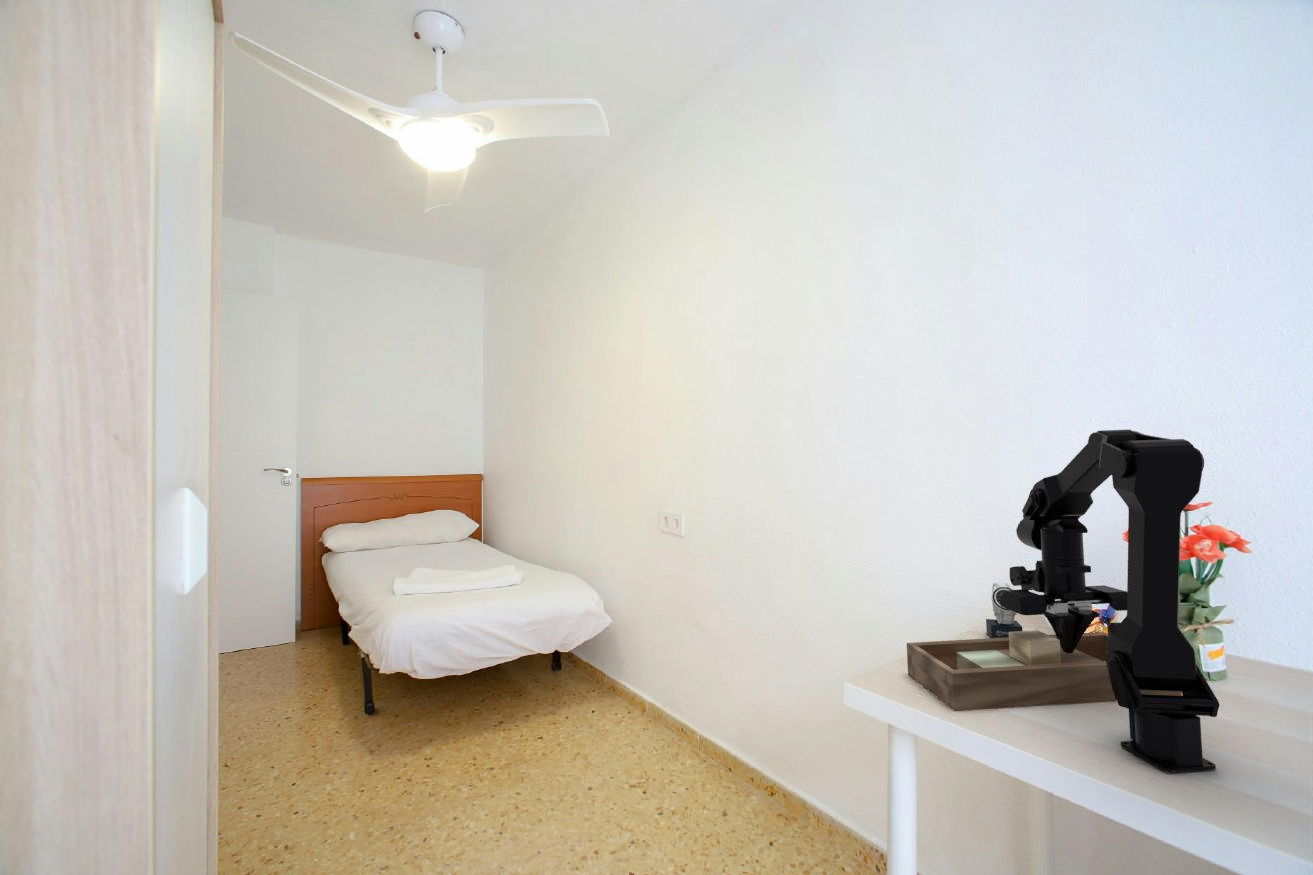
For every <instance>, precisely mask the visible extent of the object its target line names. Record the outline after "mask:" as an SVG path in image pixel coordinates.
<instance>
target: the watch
mask: <svg viewBox="0 0 1313 875" xmlns="http://www.w3.org/2000/svg"><path fill="white" fill-rule="evenodd" d="M1004 590H1014V588H1013V587H1012V585H1010V584H1009V583H1007V582H1006V583H1003V582H993V584H992V593H991V602H992V612H993V615H994V617H995V619H991V618H986V619H985V624H986V625H985V627H986V635H987V636H988V638H1005V637H1009V632H1015V631H1024V630H1023V626H1022V625H1021V624H1020V623H1019V622H1018V620H1015V618H1016V617H1015V616H1017V614H1018V613H1016V612H1014V611H1011V610H1009V609H1006V608H1004V607H1001V603H1000V596H1001V594H1002V593H1003V591H1004Z"/></svg>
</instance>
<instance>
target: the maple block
mask: <svg viewBox="0 0 1313 875" xmlns="http://www.w3.org/2000/svg"><path fill="white" fill-rule="evenodd" d="M1049 635H1050V634H1047V633H1044V632H1042V631H1040V630H1038V629H1037V630H1035V629H1034V630H1023V631H1015V632H1009V649H1010V656H1011V657H1013V658H1015V659H1017V660H1019V661H1021V662H1023V663H1025V664H1026V665H1041V664H1058V663H1061V655H1060V640H1059V639H1056V638H1054V637H1052V636H1049Z"/></svg>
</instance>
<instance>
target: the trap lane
mask: <svg viewBox="0 0 1313 875" xmlns="http://www.w3.org/2000/svg"><path fill="white" fill-rule="evenodd" d="M1048 635H1049V636H1052V637H1054V638H1056V639H1057V636H1056V634H1048ZM1107 646H1108V632H1104V631H1102V632H1101V631H1098V632H1095V633H1084V634H1083V635H1082V637H1081V639H1080V641H1079V643H1078V644H1077V646H1076V648H1075V650H1074V651H1073V653H1065V652H1064V651H1063V650H1062V647H1061V645H1060V655H1061V663H1058V664H1041V665H1026V664H1025V663H1023V662H1021V661H1019V660H1017V659H1015V658H1013V657H1011V656H1010V649H1009V637H1005V638H989V637H988V638H974V639H972V638H971V639H956V640H955V639H953V640H939V641H938V640H935V641H934V640H933V641H918V642H906V660H907V662H906V663H907V676H909V677H911V679H913V680H914V679H915V680H916V681H915V680H914V681H915V682H917V683H918V684H919V685H920V686H922V687H923V686H924V687H925V688H924V687H923V688H924V689H926V690H927V689H928V690H929V691H928V690H927V691H928V692H930V693H931V694H932V693H933V694H934V695H933V694H932V695H933V696H935V697H936V696H937V697H938V698H937V697H936V698H937V699H938V700H940V701H941V700H942V701H943V702H942V701H941V702H942V703H944V704H945V705H946V706H948V707H949V708H950V709H951V710H952V711H954V712H957V711H958V712H959V711H975V710H989V709H991V710H992V709H1005V708H1006V709H1007V708H1021V707H1037V706H1052V705H1056V706H1057V705H1068V704H1085V703H1101V702H1114V701H1115V702H1116V701H1117V702H1118V700H1117V699H1116V698H1115V696H1114V693H1113V690H1112V685H1111V681H1110V677H1109V673H1108V668H1107V664H1106V658H1107V653H1108V652H1107ZM1140 692H1141V694H1153V695H1178V696H1183V695H1182V691H1160V690H1140Z"/></svg>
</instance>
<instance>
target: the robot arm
mask: <svg viewBox="0 0 1313 875" xmlns="http://www.w3.org/2000/svg"><path fill="white" fill-rule="evenodd" d="M1204 468H1205V458H1204V456H1203V453H1202V452H1201V451H1200V449H1198V448H1196V447H1195V446H1194V444H1192V443H1191V441H1189V440H1186V439H1184V438H1178V439H1177V438H1174V439H1173V438H1171V439H1170V438H1167V437H1160V436H1155V435H1148V434H1144V433H1141V432H1139V431H1135V430H1132V429H1110V430H1109V429H1108V430H1107V429H1106V430H1104V429H1103V430H1097V431H1095V432H1092V433H1090V435H1089V437H1088V439H1087V444H1086V445H1085V446H1084V447H1082V449H1081V450H1080V451H1079V452H1078V453H1077V454H1076V455H1075V456H1074V457H1073V459H1072V460H1070V461H1069V463H1067V465H1066V466H1065V467H1064V468H1063V469H1062V470H1061V471H1060V472H1058V473H1057V474H1053V475H1050V476H1047V477H1043V478H1042V479H1040V480H1038V481H1037V482H1036V483H1035V484H1034V485H1033V487H1032V489H1031V490H1030V492H1029V494H1028V497H1027V500H1026V502H1025V504H1024V505H1023V508H1022V510H1021V511H1022V513H1023V514H1022V519H1021V520H1020V521H1019V523H1018V525H1017V526H1016V528H1015V532H1016V536H1017V539H1018V540H1019V541H1020V542H1021V543H1023V544H1024V545H1025V546H1027V547H1030V548H1034V549H1035V550H1039V551H1040V552H1041V560H1036V563H1035V569H1032V570H1031V569H1030V570H1027V569H1026V567H1025V566H1024V565H1020V566H1019V565H1017V566H1012V567H1011V566H1010V567H1009V581H1010V584H1011V586H1013V587H1016V586H1018V587H1019V586H1020V587H1021V589H1013V590H1004V591H1003V593H1002V594H1001V596H1000V603H1001V607H1004V608H1006V609H1009V610H1011V611H1014V612H1016V613H1017V614H1019V615H1021V616H1039V615H1040V616H1042V615H1043V616H1044V617H1045V618H1046V619H1047V621H1048V623H1049V624H1050V626H1051V627H1052V630H1053V632H1054V635H1056V636H1057V639H1059V640H1060V645H1061V647H1062V650H1063V651H1064V652H1065V653H1073V651H1074V650H1075V648H1076V646H1077V644H1078V643H1079V641H1080V639H1081V637H1082V635H1083V634H1084V632H1085V631H1086V629H1087V628H1088V627H1089V625H1090V624H1091V622H1092V621H1093V620H1094V618H1095V617H1098V618H1099V617H1100V615H1101V614H1100V612H1098V611H1097V612H1094V611H1093V610H1092V604H1096V605H1102V604H1103V605H1105V604H1107V605H1108V606H1110V608H1112V609H1113V610H1114V611H1117V612H1120V611H1123V612H1124V611H1126V616H1125V617H1124V618H1123V619H1122V621H1121V622H1110V623H1109V624H1108V627H1107V634H1108V646H1107V652H1108V653H1107V658H1106V664H1107V668H1108V673H1109V677H1110V681H1111V685H1112V690H1113V693H1114V696H1115V698H1116V699H1117V700H1118V701H1117V705H1118V706H1119V707H1122V708H1124V709H1128V721H1129V722H1128V723H1129V737H1130V739H1131V740H1126V741H1125V740H1124V741H1120V746H1121V747H1122V748H1124V749H1125V750H1127V751H1128V752H1130V753H1131V754H1134V755H1135V756H1137V757H1139V758H1141V759H1142V760H1144V761H1146V762H1147V763H1149V764H1151V765H1153V766H1155V767H1156V768H1157V769H1159V770H1161V771H1162V772H1165V773H1180V772H1181V773H1182V772H1183V773H1184V772H1196V771H1210V770H1211V771H1212V770H1217V769H1216V767H1217V766H1216V764H1215V763H1214V762H1212V761H1210V760H1208V759H1206V758H1204V757H1203V744H1202V742H1203V741H1202V740H1203V739H1202V729H1201V728H1202V727H1201V717H1200V716H1202V717H1211V718H1216V717H1217V716H1218V713H1219V709H1220V701H1219V700H1218V698H1217V696H1216V695H1215V693H1214V691H1213V690H1212V688H1211V687H1210V685H1209V683H1208V682H1207V680H1206V678H1205V677H1204V674H1203V673H1202V671H1201V670H1200V669H1201V668H1199V665H1198V664H1197V659H1196V651H1195V648H1194V647H1193V646H1192V644H1191V643H1190V641H1189V640H1188V638H1186V636H1185V635H1184V633H1183V632H1182V631H1181V629H1180V627H1179V601H1180V600H1179V598H1180V596H1179V595H1180V594H1179V593H1180V592H1179V591H1180V560H1181V559H1180V556H1181V554H1180V553H1181V552H1180V551H1181V517H1182V513H1183V511H1184V510H1185V509H1186V508H1187V507H1188V505H1189V504H1190V503H1191V502H1192V501H1193V500H1194V498H1196V496H1197V495H1198V494H1199V492H1200V488H1201V481H1202V477H1203V476H1202V475H1203V471H1204ZM1111 476H1112V487H1113V489H1114V490H1115V491H1116V493H1117V494H1118V495H1119V497H1120V498H1121V500H1122V501H1123V502H1124V503H1125V504H1126V506H1127V509H1128V519H1127V520H1128V523H1127V524H1128V528H1127V531H1128V532H1127V534H1128V535H1127V584H1126V590H1123V589H1118V588H1116V587H1111V586H1108V585H1090V586H1087V585H1086V574H1088V573H1092V566H1091V565H1087V564H1085V554H1084V537H1083V535H1084V534H1088V532H1089V530H1088V528H1087V526H1086V525H1085V524H1083V523H1082V522H1081V521H1080V520H1079V519H1080V518H1081V517H1082V516H1084V515H1085V514H1086V513H1087V512H1088V511H1089V510H1090V508H1091V506H1092V505H1093V504H1094V499H1093V497H1092V494H1093V492H1094V491H1096V489H1097V488H1099V487H1100V485H1102V484H1103V483H1104V482H1105V481H1106V480H1108V478H1110V477H1111ZM1032 591H1035V592H1037V593H1035V592H1032ZM1038 593H1043V594H1038ZM1140 690H1160V691H1181V693H1182V696H1178V695H1153V694H1141V692H1140Z"/></svg>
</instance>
